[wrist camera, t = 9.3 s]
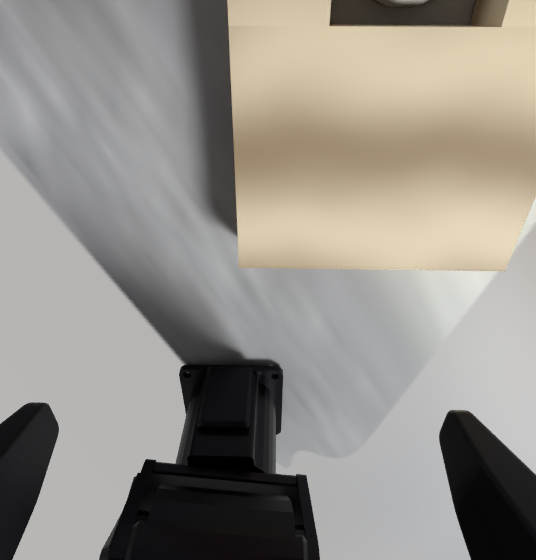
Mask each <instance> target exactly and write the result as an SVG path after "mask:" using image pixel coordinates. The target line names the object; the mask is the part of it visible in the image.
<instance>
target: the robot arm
mask: <svg viewBox="0 0 536 560" xmlns="http://www.w3.org/2000/svg"><path fill="white" fill-rule="evenodd" d="M186 372H188V373H186ZM274 374H276V375H274ZM179 376H180V382H181V388H182V393H183V399H184V405H185V410H186V420H185V424H184V429H183V433H182V437H181V442H180V446H179V451H178V456H177V460H176V464H170V463H161V462H156V460H150V459H146V460H145V462H144V465H143V468H142V470H141V473H138V474H137V476H136V477H134V479H133V482H132V486H131V489H130V492H129V495H128V499H127V501H126V504H125V506H124V509H123V511H122V514H121V515H120V517H119V519H118V521H117V523H116V525H115V527H114V528H113V530H112V532H111V534H110V536H109V538H108V539H107V541H106V543H105V545H104V547H103V549H102V551H101V554H100V558H99V560H320V556H319V546H318V540H317V534H316V529H315V523H314V517H313V512H312V505H311V500H310V494H309V488H308V483H307V477H306V475H300V474H297V475H296V476H292V475H281V474H276V435H277V434H279V433H280V432H281V416H282V388H283V370H282V369H281V368H280V367H277V366H233V365H184V366H182V367H181V369H180V373H179ZM58 432H59V427H58V423H57V421H56V419H55V417H54V414H53V412H52V410H51V408H50V406H49V405H48V404H47V403H28V404H26V405H24V406H23V407H21V408H20V409H19V410H18V411H16V412H15V413H14V414H13V415H11V416H10V417H9V418H7V419H6V420H5V421H4V422H2V423H1V424H0V560H12V559H13V556H14V554H15V552H16V549H17V547H18V545H19V542H20V540H21V538H22V535H23V533H24V531H25V528H26V526H27V524H28V522H29V519H30V517H31V514H32V512H33V510H34V507H35V505H36V502H37V499H38V496H39V493H40V490H41V487H42V484H43V481H44V478H45V475H46V471H47V468H48V465H49V462H50V459H51V456H52V452H53V449H54V446H55V443H56V440H57V437H58ZM439 440H440V446H441V450H442V455H443V459H444V463H445V468H446V473H447V477H448V482H449V486H450V491H451V495H452V500H453V504H454V508H455V512H456V515H457V518H458V521H459V525H460V528H461V531H462V533H463V537H464V540H465V543H466V546H467V549H468V552H469V555H470V558H471V560H536V475H535V474H534V473H533V472H532V471H531V470H530V469H529V468H528V467H527V466H526V465H525V464H524V463H523V462H522V461H521V460H520V459H519V458H518V457H517V456H516V455H515V454H514V453H513V452H512V451H511V450H509V449H508V448H507V447H506V446H505V445H504V444H503V443H502V442H501V441H500V440H499V439H498V438H497V437H496V436H495V435H494V434H493V433H492V432H491V431H490V430H489V429H488V428H486V426H484V425H483V424H482V423H481V422H480V421H479V420H478V419H477V418H476V417H475V416H474V415H473V414H472V413H470V412H469V411H465V410H451V411H449V412H448V413H447V415H446V418H445V420H444V423H443V425H442V428H441V430H440V434H439Z"/></svg>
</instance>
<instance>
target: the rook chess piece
mask: <svg viewBox="0 0 536 560" xmlns="http://www.w3.org/2000/svg"><path fill="white" fill-rule="evenodd" d="M377 1H378V2H380V3H382V4H384V5H386V6H388V7H414V6H417V5H419V4H423V3H425V2H427V1H429V0H377Z"/></svg>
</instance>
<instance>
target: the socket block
mask: <svg viewBox="0 0 536 560" xmlns="http://www.w3.org/2000/svg"><path fill="white" fill-rule="evenodd" d="M227 4H228V26H229V49H230V72H231V95H232V118H233V140H234V163H235V186H236V209H237V232H238V254H239V268H310V269H384V270H458V271H505V270H506V267H507V265H508V263H509V260H510V258H511V255H512V253H513V251H514V248H515V246H516V243H517V241H518V238H519V236H520V233H521V231H522V228H523V226H524V224H525V221H526V219H527V216H528V214H529V211H530V209H531V206H532V204H533V201H534V199H535V196H536V0H476V2H475V6H474V10H473V14H472V18H471V23H470V25H397V24H329V23H330V10H331V0H227Z"/></svg>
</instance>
